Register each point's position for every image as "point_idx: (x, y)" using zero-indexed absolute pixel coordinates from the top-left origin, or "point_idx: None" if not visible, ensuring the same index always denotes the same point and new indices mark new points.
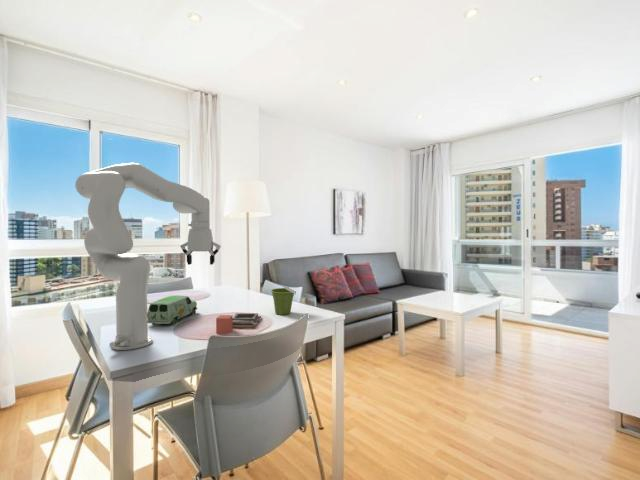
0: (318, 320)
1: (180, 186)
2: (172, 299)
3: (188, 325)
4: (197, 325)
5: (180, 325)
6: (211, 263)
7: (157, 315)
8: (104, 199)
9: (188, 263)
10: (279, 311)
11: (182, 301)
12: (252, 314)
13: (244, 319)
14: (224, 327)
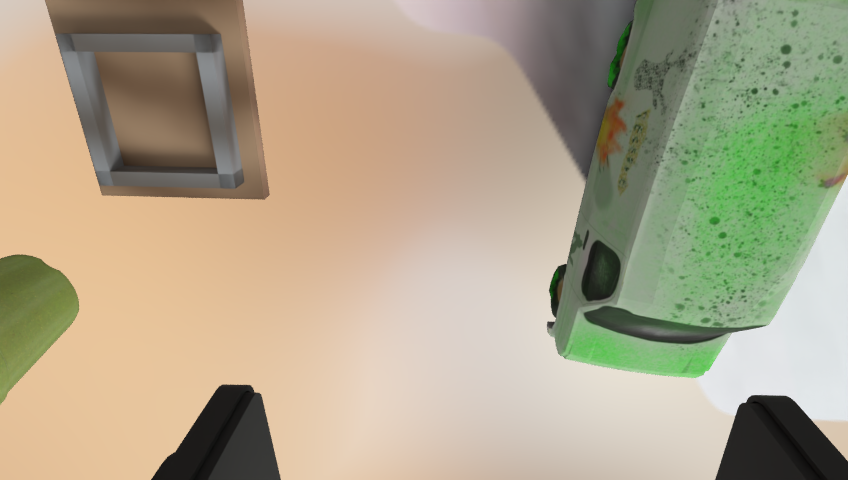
0: None
1: None
2: (726, 153)
3: (511, 14)
4: (448, 15)
5: (567, 13)
6: (212, 398)
7: None
8: None
9: (777, 408)
10: (18, 262)
11: (632, 197)
12: (131, 171)
13: (121, 34)
14: None
